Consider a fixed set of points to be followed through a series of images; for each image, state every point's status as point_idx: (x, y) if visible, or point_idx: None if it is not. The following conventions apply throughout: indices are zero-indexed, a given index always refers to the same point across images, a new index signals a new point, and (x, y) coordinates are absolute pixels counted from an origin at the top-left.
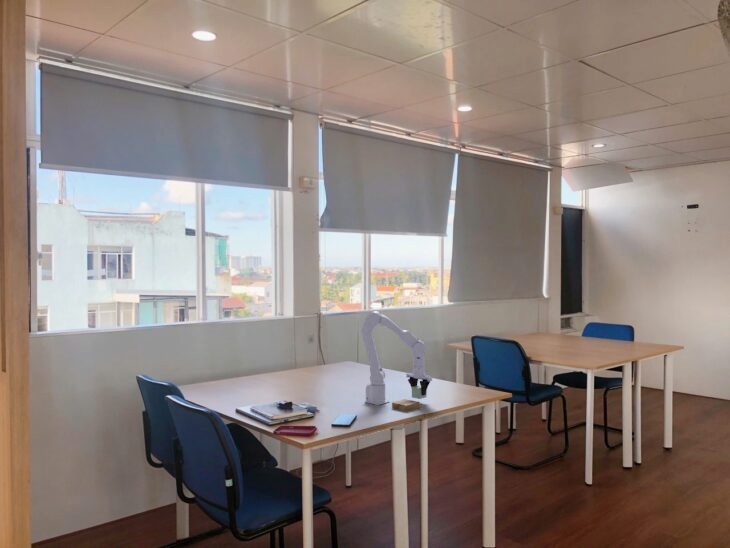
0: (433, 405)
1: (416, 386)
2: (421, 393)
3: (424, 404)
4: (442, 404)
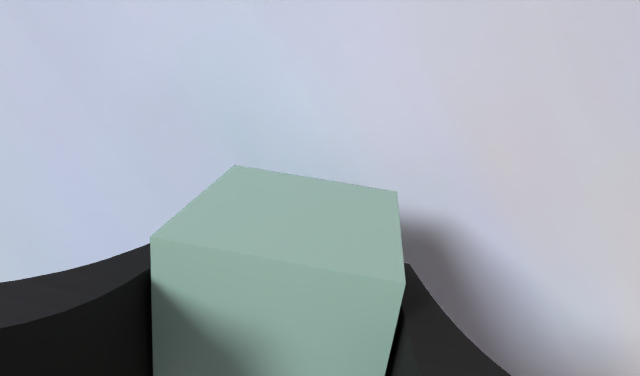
0: (526, 211)
1: (198, 356)
2: None
3: None
4: (630, 100)
